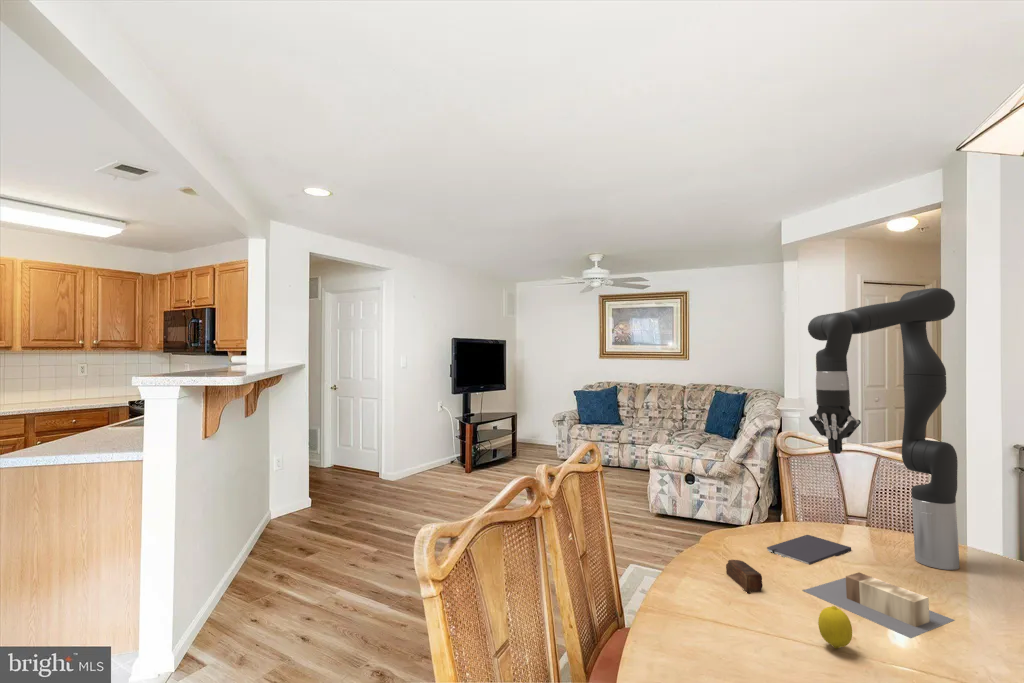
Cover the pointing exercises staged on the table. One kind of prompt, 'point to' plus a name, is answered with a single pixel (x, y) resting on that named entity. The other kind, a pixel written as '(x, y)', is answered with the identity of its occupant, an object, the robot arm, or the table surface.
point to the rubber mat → (837, 596)
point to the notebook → (808, 549)
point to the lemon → (835, 627)
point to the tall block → (888, 599)
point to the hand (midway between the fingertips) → (835, 453)
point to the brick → (744, 576)
